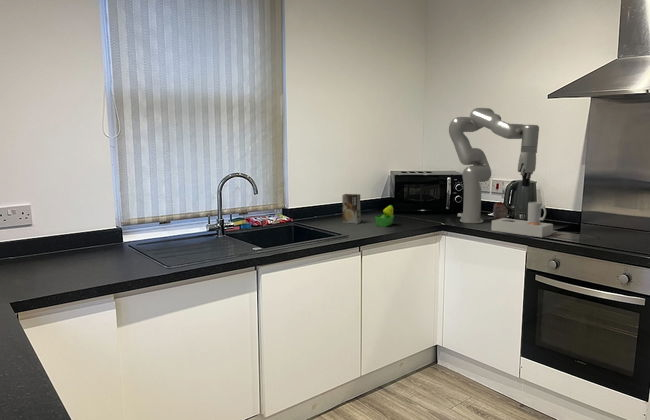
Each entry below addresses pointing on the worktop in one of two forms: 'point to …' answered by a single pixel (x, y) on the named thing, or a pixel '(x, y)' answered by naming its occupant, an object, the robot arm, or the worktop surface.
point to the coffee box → (351, 208)
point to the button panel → (522, 227)
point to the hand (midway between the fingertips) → (525, 186)
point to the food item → (500, 210)
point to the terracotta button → (534, 223)
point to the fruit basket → (385, 217)
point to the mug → (535, 211)
